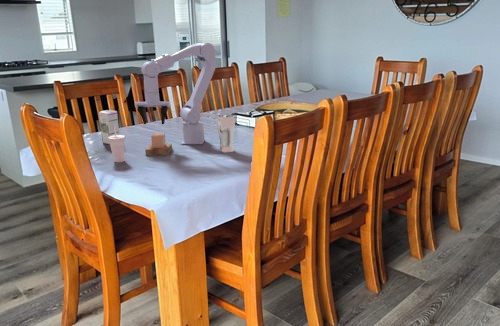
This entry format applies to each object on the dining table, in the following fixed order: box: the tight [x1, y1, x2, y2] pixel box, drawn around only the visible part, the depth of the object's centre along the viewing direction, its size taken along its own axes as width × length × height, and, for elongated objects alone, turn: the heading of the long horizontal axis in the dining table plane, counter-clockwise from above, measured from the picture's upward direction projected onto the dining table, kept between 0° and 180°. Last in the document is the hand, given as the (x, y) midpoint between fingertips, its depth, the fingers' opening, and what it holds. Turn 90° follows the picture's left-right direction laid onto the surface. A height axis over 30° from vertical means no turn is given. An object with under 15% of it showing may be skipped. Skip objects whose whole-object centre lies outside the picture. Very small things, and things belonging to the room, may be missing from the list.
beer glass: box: [217, 113, 236, 154], centre depth 178 cm, size 7×7×15 cm
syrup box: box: [98, 109, 120, 146], centre depth 191 cm, size 6×6×14 cm
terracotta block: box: [150, 132, 167, 148], centre depth 177 cm, size 4×4×5 cm
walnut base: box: [144, 143, 173, 156], centre depth 178 cm, size 9×9×2 cm
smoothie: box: [108, 125, 126, 163], centre depth 165 cm, size 6×6×14 cm
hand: (154, 123), depth 183 cm, fingers open, 7 cm apart
